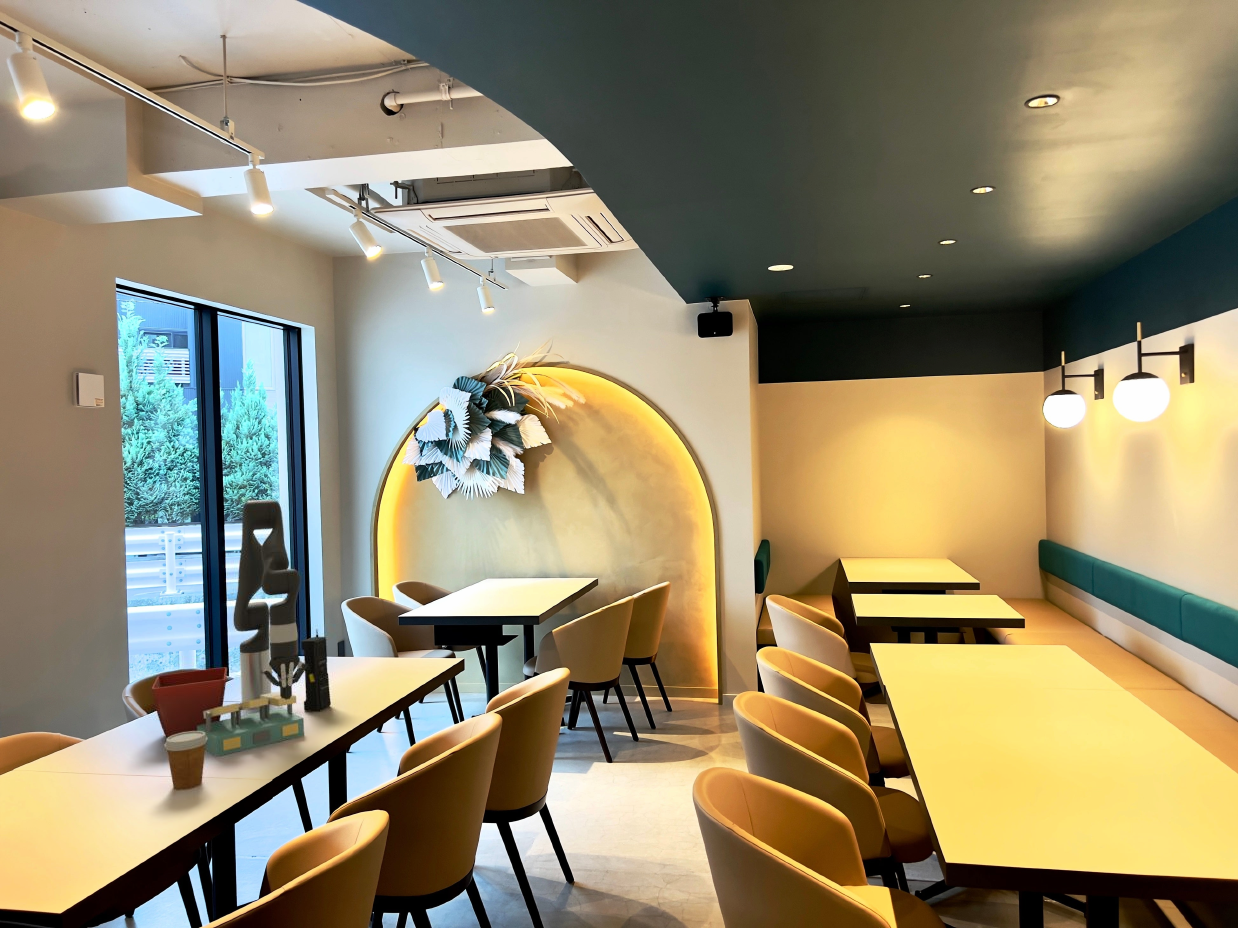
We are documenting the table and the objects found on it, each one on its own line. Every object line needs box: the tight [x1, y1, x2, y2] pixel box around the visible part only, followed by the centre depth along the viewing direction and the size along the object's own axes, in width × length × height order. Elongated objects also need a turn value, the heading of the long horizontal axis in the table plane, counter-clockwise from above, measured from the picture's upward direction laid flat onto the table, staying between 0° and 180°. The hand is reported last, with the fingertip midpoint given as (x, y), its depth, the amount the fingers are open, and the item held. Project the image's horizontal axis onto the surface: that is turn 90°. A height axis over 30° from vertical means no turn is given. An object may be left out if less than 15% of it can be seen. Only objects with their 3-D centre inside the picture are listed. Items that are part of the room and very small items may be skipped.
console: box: [197, 701, 305, 757], centre depth 246 cm, size 17×24×10 cm
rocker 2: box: [238, 697, 268, 712], centre depth 246 cm, size 15×5×2 cm, turn 42°
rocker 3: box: [260, 691, 297, 707], centre depth 252 cm, size 15×5×2 cm, turn 42°
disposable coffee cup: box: [163, 731, 208, 790], centre depth 211 cm, size 10×10×12 cm
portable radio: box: [300, 630, 332, 713], centre depth 275 cm, size 8×6×25 cm
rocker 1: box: [203, 702, 239, 718], centre depth 241 cm, size 15×5×2 cm, turn 42°
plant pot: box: [151, 666, 228, 739], centre depth 254 cm, size 19×19×17 cm
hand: (286, 698), depth 247 cm, fingers closed
